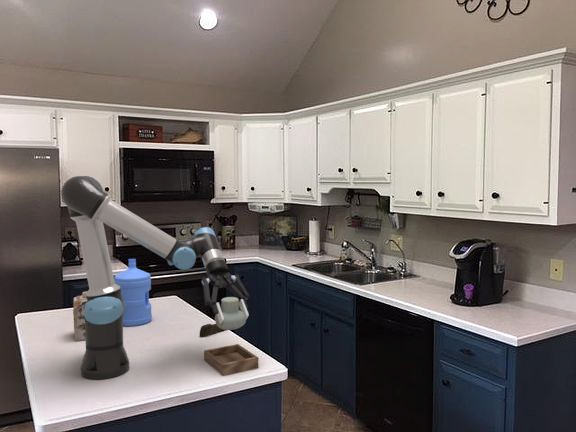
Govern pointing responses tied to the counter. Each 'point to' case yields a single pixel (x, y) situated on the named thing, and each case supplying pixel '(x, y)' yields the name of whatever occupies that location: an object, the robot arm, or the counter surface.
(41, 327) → the counter surface
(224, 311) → the air freshener
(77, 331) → the decorative jar
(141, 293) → the water jug
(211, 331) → the hand tool
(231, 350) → the tray
